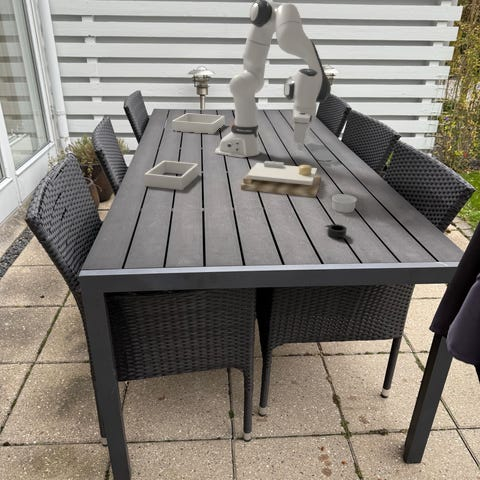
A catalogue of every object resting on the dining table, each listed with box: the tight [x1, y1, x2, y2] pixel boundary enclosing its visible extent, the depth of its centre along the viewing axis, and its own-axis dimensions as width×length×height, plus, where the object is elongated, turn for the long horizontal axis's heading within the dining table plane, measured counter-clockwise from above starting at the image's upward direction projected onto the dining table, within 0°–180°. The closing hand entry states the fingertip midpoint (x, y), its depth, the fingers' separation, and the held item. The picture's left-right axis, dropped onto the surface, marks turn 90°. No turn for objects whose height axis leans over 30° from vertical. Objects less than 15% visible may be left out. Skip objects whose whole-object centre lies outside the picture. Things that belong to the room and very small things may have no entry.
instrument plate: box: [246, 160, 318, 185], centre depth 190 cm, size 26×18×4 cm
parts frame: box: [143, 160, 200, 191], centre depth 193 cm, size 16×20×5 cm
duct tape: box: [323, 223, 351, 240], centre depth 149 cm, size 8×10×3 cm
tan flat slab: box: [240, 165, 322, 198], centre depth 192 cm, size 30×22×4 cm
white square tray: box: [171, 112, 226, 135], centre depth 282 cm, size 25×25×6 cm
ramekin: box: [331, 193, 358, 214], centre depth 169 cm, size 9×9×4 cm
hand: (300, 149), depth 186 cm, fingers closed
